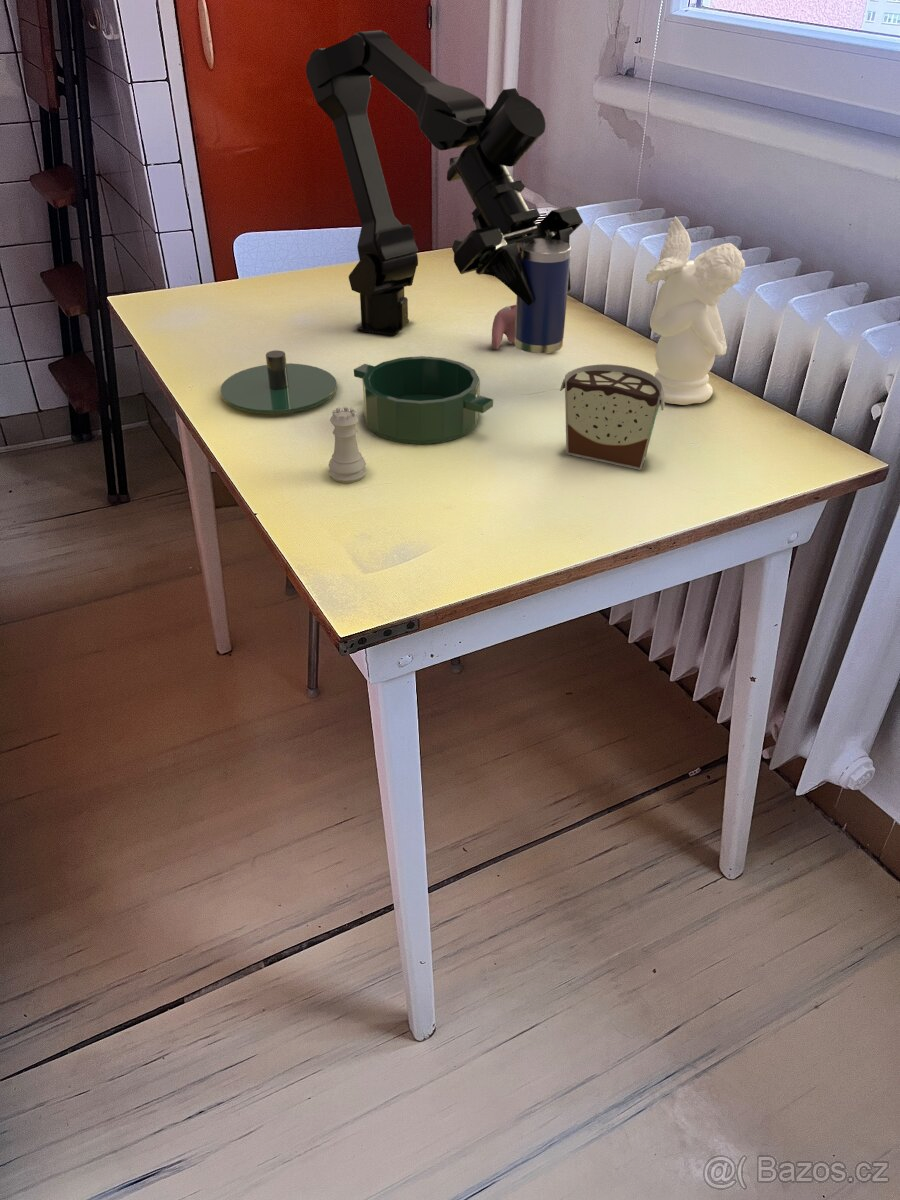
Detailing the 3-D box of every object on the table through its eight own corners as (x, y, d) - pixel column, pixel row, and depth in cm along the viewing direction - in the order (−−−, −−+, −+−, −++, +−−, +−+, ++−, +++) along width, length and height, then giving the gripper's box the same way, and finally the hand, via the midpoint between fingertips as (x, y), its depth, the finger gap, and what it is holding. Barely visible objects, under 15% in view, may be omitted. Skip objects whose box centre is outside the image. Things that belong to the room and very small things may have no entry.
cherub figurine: (731, 401, 126) (764, 232, 113) (658, 421, 121) (684, 246, 108) (672, 370, 135) (696, 209, 121) (602, 387, 130) (620, 222, 117)
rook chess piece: (337, 487, 107) (332, 423, 102) (323, 470, 110) (317, 407, 105) (373, 478, 108) (370, 415, 104) (358, 462, 112) (354, 400, 107)
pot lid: (284, 428, 119) (279, 387, 116) (197, 399, 126) (190, 359, 123) (360, 386, 129) (358, 347, 126) (275, 362, 136) (271, 324, 133)
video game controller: (555, 354, 143) (559, 306, 142) (556, 351, 139) (559, 302, 138) (491, 351, 144) (494, 304, 143) (490, 348, 139) (492, 300, 138)
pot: (455, 461, 112) (455, 418, 109) (326, 419, 121) (323, 379, 118) (516, 417, 122) (518, 377, 119) (393, 382, 131) (391, 344, 128)
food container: (666, 450, 115) (679, 373, 109) (653, 472, 110) (665, 393, 104) (571, 431, 119) (578, 355, 113) (554, 451, 114) (561, 374, 108)
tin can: (508, 350, 123) (513, 250, 115) (521, 332, 128) (526, 236, 120) (556, 356, 121) (564, 255, 113) (567, 339, 126) (576, 241, 118)
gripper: (510, 214, 131) (562, 312, 131) (409, 239, 121) (465, 346, 121) (555, 163, 122) (611, 269, 122) (450, 186, 112) (511, 301, 112)
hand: (549, 297), depth 120 cm, fingers closed on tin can, 6 cm apart
